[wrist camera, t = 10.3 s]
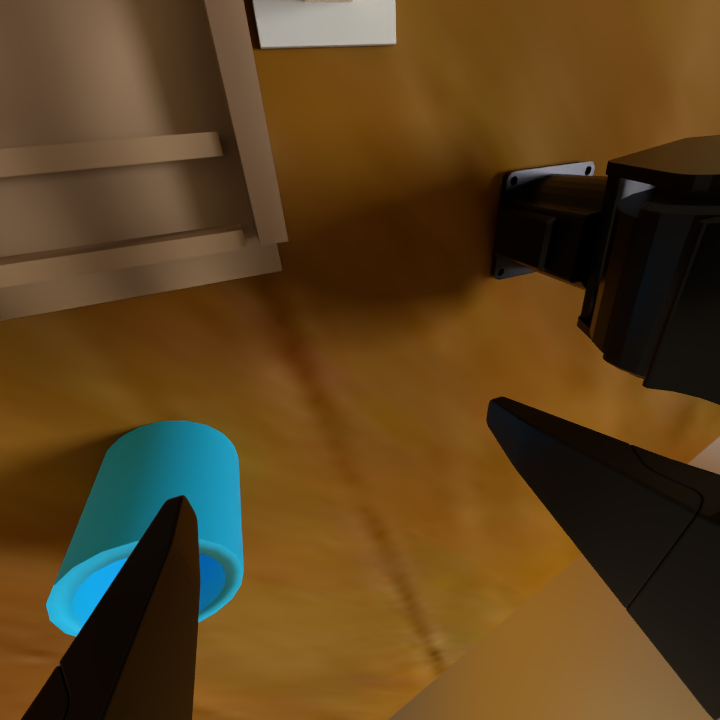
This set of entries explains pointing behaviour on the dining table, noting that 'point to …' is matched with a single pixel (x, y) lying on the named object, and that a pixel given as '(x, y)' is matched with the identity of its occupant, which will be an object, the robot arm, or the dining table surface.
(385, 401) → the dining table surface
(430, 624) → the dining table surface
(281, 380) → the dining table surface
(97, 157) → the rack
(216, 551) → the mug
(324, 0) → the block
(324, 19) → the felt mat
